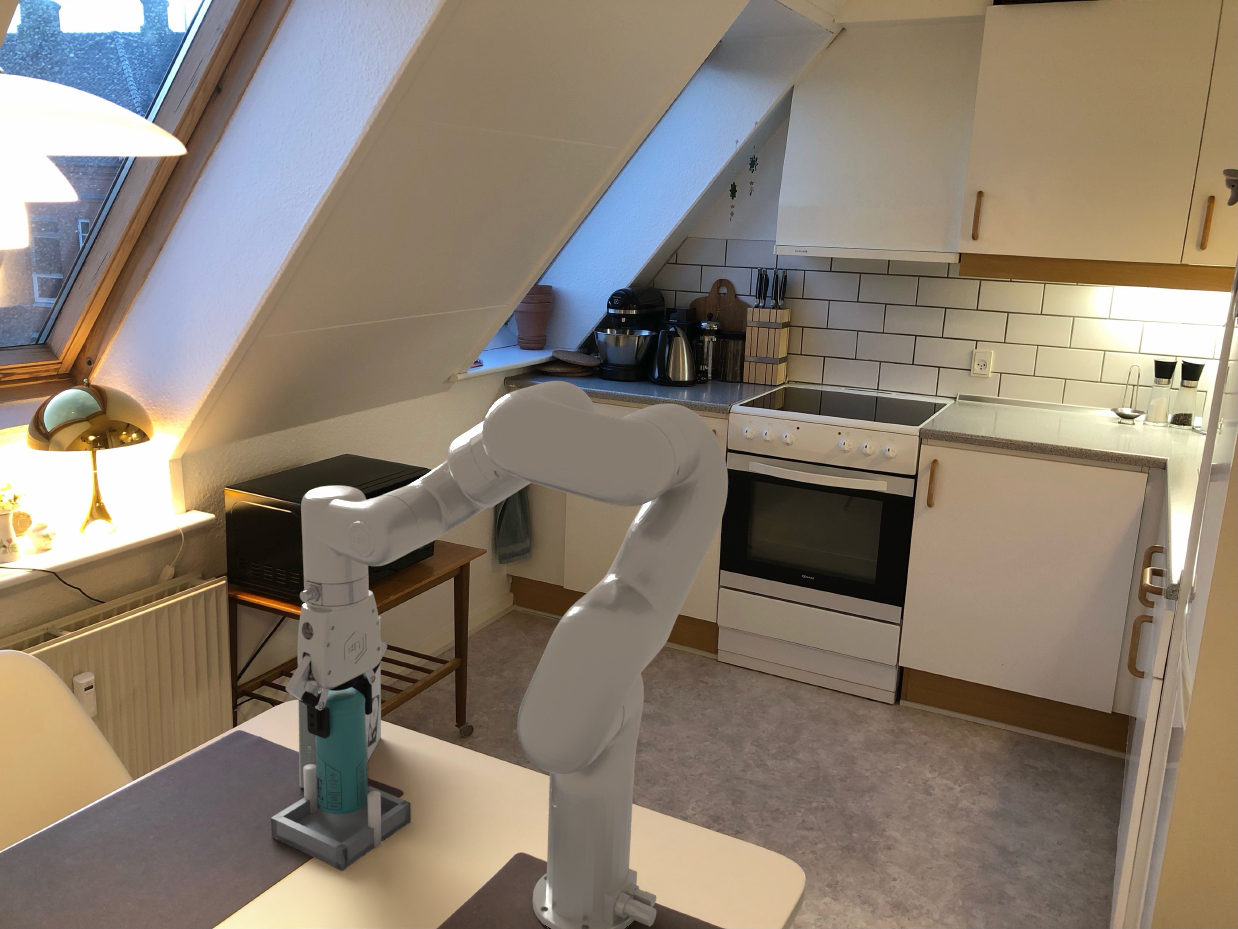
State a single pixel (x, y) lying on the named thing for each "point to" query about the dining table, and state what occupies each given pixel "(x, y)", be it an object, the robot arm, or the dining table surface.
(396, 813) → the tray
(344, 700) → the beverage bottle
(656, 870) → the dining table surface
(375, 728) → the hard drive box
